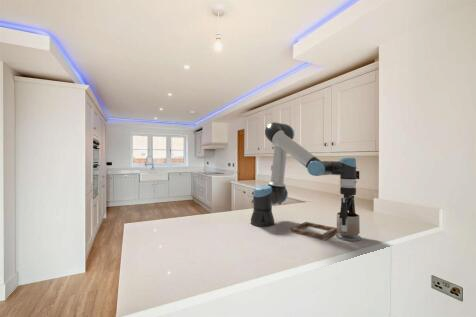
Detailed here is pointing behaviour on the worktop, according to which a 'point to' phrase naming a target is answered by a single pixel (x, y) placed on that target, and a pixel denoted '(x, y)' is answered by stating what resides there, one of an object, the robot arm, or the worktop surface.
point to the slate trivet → (348, 237)
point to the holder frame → (321, 236)
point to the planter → (349, 224)
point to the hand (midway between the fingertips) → (347, 228)
